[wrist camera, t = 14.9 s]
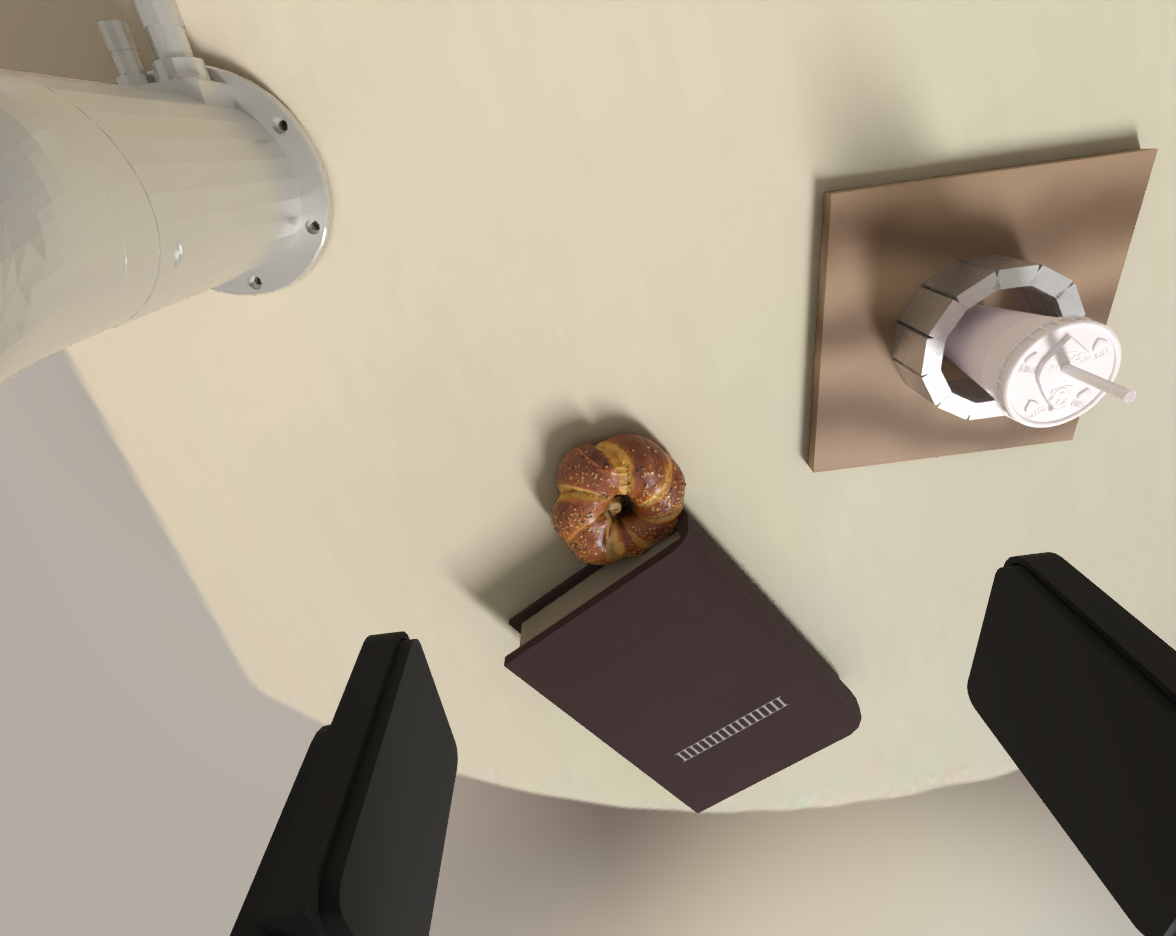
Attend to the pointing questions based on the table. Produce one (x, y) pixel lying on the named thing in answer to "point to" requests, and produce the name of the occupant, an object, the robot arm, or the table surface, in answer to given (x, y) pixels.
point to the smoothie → (1037, 362)
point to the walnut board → (925, 247)
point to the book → (682, 669)
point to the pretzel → (617, 498)
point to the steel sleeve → (944, 307)
